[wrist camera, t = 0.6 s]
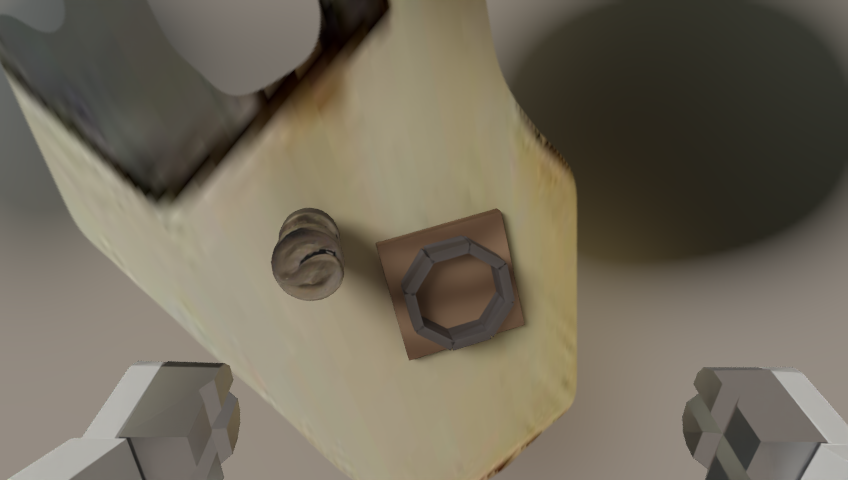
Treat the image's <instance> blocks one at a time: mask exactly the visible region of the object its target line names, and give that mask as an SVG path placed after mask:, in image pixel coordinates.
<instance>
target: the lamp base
mask: <svg viewBox="0 0 848 480" xmlns="http://www.w3.org/2000/svg"><path fill="white" fill-rule="evenodd" d="M376 246H377V249H378V253H379V256H380V260H381V263H382V267H383V270H384V274H385V277H386V281H387V284H388V288H389V291H390V295H391V299H392V302H393V306H394V309H395V313H396V316H397V320H398V323H399V327H400V330H401V334H402V337H403V341H404V344H405V348H406V351H407V355H408V358H409V360H412V359H416V358H419V357H422V356H425V355H428V354H432V353H435V352H438V351H441V350H445V349H449V350H451V348H452V349H453V350H456V349H459V348H463V347H466V346H469V345H472V344H475V343H479V342H482V341H485V340H488V339H491V337H490V335H491V336H493V337H494V335H495V334H496V333H499V332H503V331H506V330H509V329H512V328H516V327H519V326H522V325H524V320H523V316H522V311H521V306H520V301H519V296H518V291H517V287H516V282H515V277H514V272H513V267H512V262H511V258H510V253H509V248H508V243H507V238H506V233H505V229H504V224H503V219H502V214H501V211H499V210H498V209H493V210H490V211H486V212H483V213H479V214H476V215H472V216H469V217H465V218H462V219H458V220H455V221H451V222H448V223H444V224H441V225H437V226H434V227H430V228H427V229H423V230H420V231H416V232H413V233H409V234H406V235H402V236H399V237H395V238H392V239H388V240H385V241H381V242H378V243H376Z"/></svg>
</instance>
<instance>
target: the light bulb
mask: <svg viewBox="0 0 848 480" xmlns="http://www.w3.org/2000/svg"><path fill="white" fill-rule="evenodd" d="M271 264H272V271H273V275H274V277H275V279H276V281H277V283H278V284H279V285H280V287H281V288H282V289H283V290H284V291H285V292H286V293H287V294H289V295H291V296H293V297H295V298H297V299H301V300H306V301H314V300H321V299H324V298H326V297H328V296H330V295H331V294H333V293H334V292H335V291H336V290H337V289H338V288H339V287H340V285H341V283H342V281H343V277H344V255H343V252H342V249H341V246H340V236H339V231H338V228H337V226H336V224H335V222H334V220H333V219H332V218H331V217H330V216H329V215H328V214H327V213H325V212H323V211H322V210H319V209H314V208H304V209H300V210H297V211H295V212H294V213H292V214H291V215H289V216H288V217H287V219H286V220H285V222H284V223H283V225H282V227H281V230H280V232H279V241H278V243H277V244H276V246H275V248H274V251H273V255H272V261H271Z"/></svg>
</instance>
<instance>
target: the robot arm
mask: <svg viewBox="0 0 848 480" xmlns="http://www.w3.org/2000/svg"><path fill="white" fill-rule="evenodd" d="M232 382H233V376H232V373H231V369H230V366H229V365H227V364H225V363H201V362H200V363H198V362H172V361H168V362H151V361H138V362H136V363H134V364H133V365H131V366H130V367H129V368H128V370H127V371H126V373H125V374H124V376H123V377H122V379H121V380H120V382H119V383H118V385H117V386H116V388H115V389H114V391H113V392H112V394H111V395H110V396H109V398H108V399H107V401H106V402H105V404H104V405H103V407H102V408H101V410H100V411H99V413H98V414H97V416H96V417H95V419H94V420H93V422H92V423H91V425H90V426H89V428H88V429H87V430H86V432H85V433H84V435H83V436H82V438H72V439H70V440H68V441H67V442H65V443H64V444H62V445H60V446H59V447H57V448H56V449H54V450H53V451H51V452H49V453H48V454H47V455H45V456H43V457H42V458H40V459H39V460H37V461H35V462H34V463H32V464H31V465H29V466H28V467H26V468H25V469H23V470H21V471H20V472H18V473H17V474H15V475H14V476H12V477H11V478H9V479H7V480H223V479H224V476H223V472H222V468H221V463H223V462H224V461H225V460H226V459H227V458H228V457H230V456H231V455H232V454H233V451H234V448H235V445H236V442H237V439H238V432H239V426H240V408H239V403H238V399H237V398H236V397H235V396H234V395H233V394H231V393H230V392H229V390H230V387H231V385H232ZM694 386H695V387H696V389H697V391H698V393H699V394H697V395H696V396H695V397H693V398H692V399H691V400H690V401H688V402H687V403H686V406H685V410H684V413H683V416H682V421H683V434H684V438H685V441H686V445H687V447H688V449H689V451H690V453H691V455H692V457H693V458H694V459H695V460H697V461H698V462H699V463H701V464H702V465H703V466H704V467H706V468H707V469H708V471H707V474H706V478H705V480H848V425H847V424H846V423H845V421H844V420H843V419H842V418H841V417H840V416H839V414H838V413H837V412H836V411H835V410H834V409H833V408H832V407H831V405H830V404H829V403H828V402H827V401H826V400H825V398H824V397H823V396H822V395H821V394H820V393H819V392H818V390H817V389H816V388H815V387H814V386H813V385H812V383H811V382H810V381H809V380H808V379H807V378H806V377H805V375H804V374H803V373H802V372H800V371H799V370H797V369H795V368H793V367H762V368H758V367H757V368H756V367H745V368H744V367H737V368H736V367H733V368H732V367H730V368H729V367H718V368H717V367H704V368H703V369H702V370H701V371H699V372H698V374H697V376H696V379H695V381H694Z"/></svg>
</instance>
